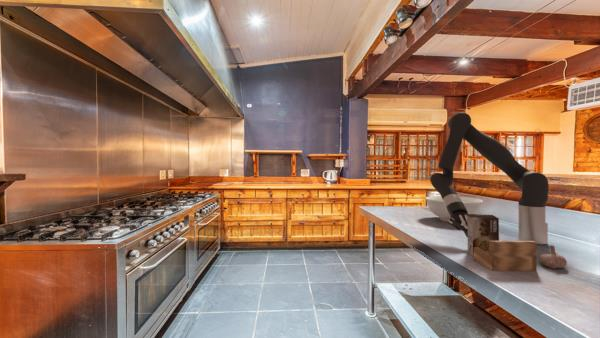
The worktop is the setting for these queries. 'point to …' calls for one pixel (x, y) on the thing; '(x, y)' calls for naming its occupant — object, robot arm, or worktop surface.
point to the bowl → (440, 209)
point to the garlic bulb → (553, 259)
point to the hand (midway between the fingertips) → (471, 238)
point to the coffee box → (481, 231)
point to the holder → (508, 256)
